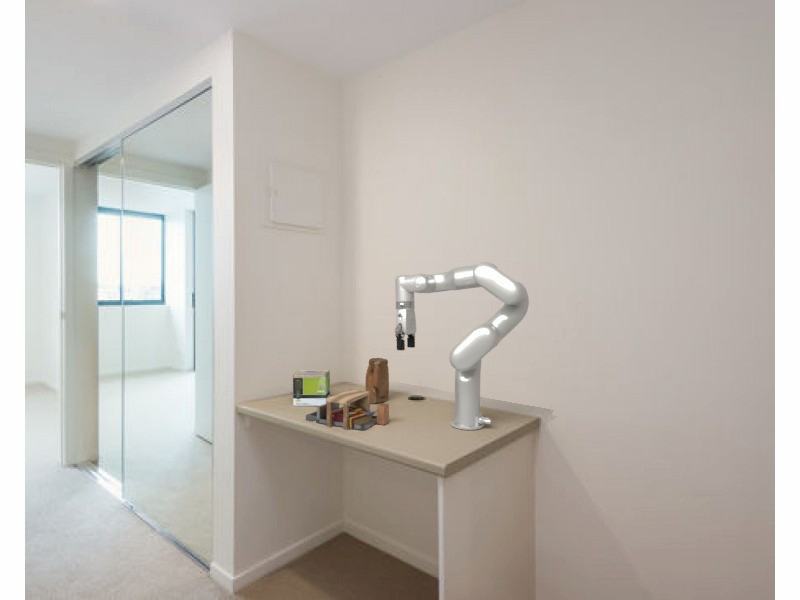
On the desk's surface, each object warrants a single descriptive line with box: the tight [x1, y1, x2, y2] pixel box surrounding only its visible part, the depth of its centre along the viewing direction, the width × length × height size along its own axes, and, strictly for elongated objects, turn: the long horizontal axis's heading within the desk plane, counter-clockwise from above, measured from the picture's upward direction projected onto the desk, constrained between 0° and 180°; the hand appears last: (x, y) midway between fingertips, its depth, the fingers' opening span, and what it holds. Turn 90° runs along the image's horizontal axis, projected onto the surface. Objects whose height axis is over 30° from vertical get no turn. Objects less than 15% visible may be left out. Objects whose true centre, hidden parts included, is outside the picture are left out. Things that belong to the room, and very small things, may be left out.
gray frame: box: [305, 410, 317, 423], centre depth 170 cm, size 6×11×2 cm, turn 154°
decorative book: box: [332, 406, 375, 430], centre depth 164 cm, size 11×16×5 cm
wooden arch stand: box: [326, 389, 371, 431], centre depth 164 cm, size 9×17×11 cm, turn 154°
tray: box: [316, 402, 390, 431], centre depth 163 cm, size 24×14×7 cm, turn 64°
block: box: [365, 357, 390, 404], centre depth 196 cm, size 11×8×20 cm
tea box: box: [292, 369, 331, 407], centre depth 192 cm, size 15×10×15 cm, turn 89°
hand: (406, 348), depth 170 cm, fingers open, 9 cm apart
